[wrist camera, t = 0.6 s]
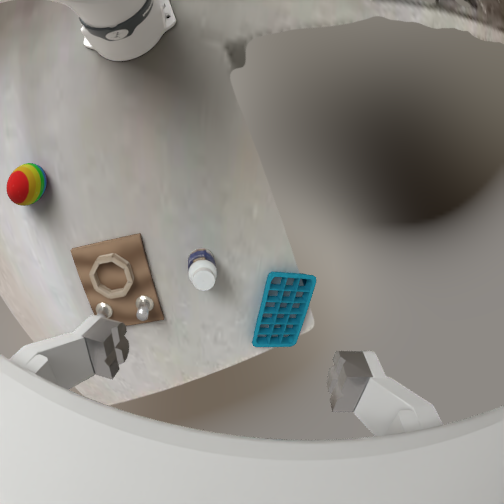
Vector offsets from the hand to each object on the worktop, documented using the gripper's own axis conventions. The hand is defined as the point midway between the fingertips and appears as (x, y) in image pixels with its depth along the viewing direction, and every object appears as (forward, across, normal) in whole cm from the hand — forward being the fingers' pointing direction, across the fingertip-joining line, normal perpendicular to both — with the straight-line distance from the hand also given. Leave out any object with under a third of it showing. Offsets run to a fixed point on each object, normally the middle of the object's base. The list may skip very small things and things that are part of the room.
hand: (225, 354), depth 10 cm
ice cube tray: (+52, -6, +25) cm, 58 cm away
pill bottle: (+45, +12, +13) cm, 49 cm away
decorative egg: (+34, +46, -3) cm, 58 cm away
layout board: (+40, +29, +19) cm, 53 cm away
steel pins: (+40, +28, +24) cm, 54 cm away
